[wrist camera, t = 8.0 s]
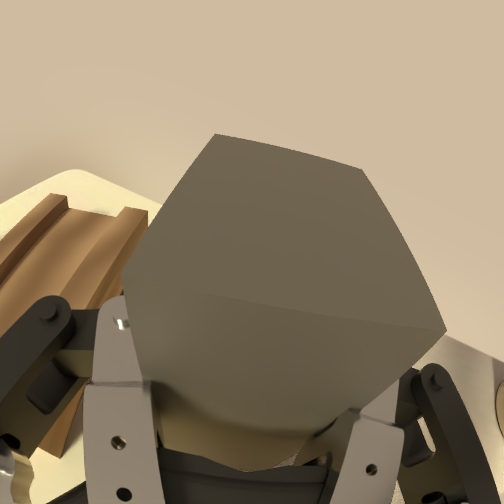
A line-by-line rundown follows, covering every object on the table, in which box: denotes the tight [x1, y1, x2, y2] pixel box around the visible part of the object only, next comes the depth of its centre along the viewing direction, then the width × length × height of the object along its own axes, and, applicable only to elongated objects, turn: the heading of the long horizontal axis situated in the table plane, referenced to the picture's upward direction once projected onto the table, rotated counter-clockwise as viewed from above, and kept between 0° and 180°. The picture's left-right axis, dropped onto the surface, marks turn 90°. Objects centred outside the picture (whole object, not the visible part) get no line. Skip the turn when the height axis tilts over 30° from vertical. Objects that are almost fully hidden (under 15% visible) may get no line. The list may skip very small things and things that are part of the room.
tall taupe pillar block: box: [121, 134, 447, 471], centre depth 9 cm, size 5×6×12 cm
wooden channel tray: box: [0, 193, 148, 458], centre depth 15 cm, size 10×18×4 cm, turn 176°
